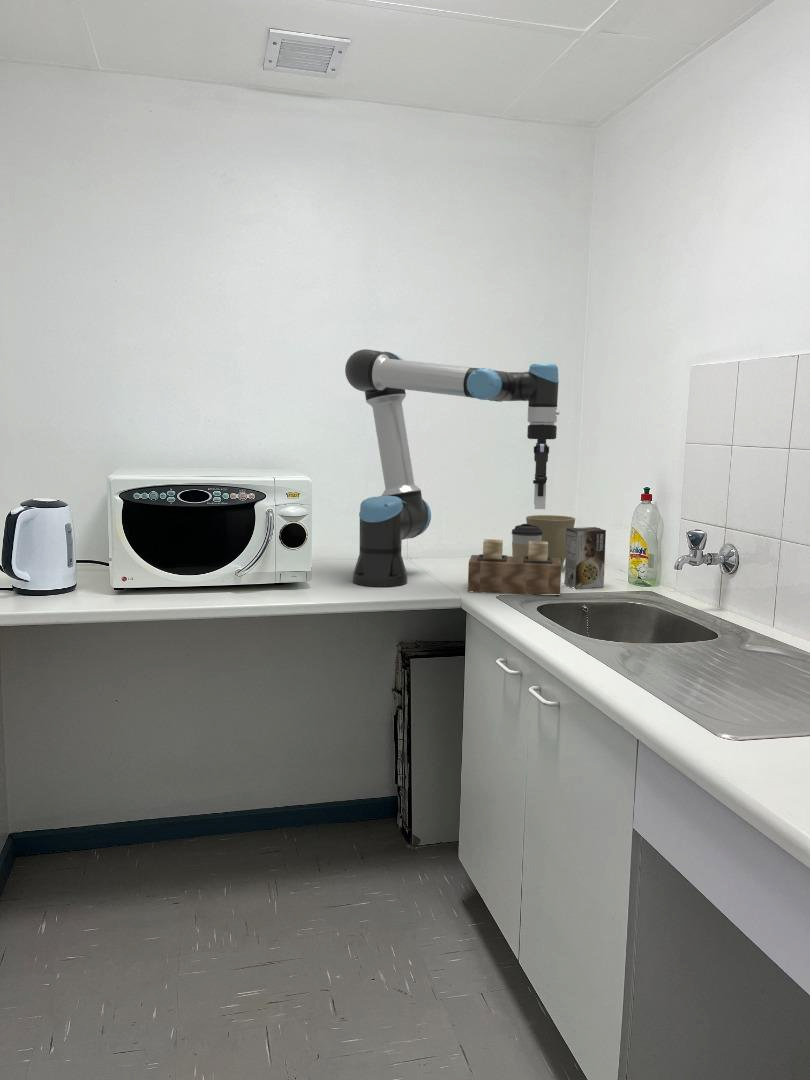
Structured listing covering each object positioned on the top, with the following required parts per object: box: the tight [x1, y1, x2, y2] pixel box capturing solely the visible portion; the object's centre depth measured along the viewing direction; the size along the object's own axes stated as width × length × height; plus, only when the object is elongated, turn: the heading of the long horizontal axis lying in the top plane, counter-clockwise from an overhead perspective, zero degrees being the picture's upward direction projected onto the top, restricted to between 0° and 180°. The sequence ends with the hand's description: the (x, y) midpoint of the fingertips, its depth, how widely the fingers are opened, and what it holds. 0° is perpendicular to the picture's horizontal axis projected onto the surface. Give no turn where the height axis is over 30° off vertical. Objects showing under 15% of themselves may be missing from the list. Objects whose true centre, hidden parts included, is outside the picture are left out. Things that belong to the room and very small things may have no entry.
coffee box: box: [563, 526, 607, 589], centre depth 227 cm, size 9×6×16 cm
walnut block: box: [467, 553, 562, 595], centre depth 222 cm, size 24×12×9 cm, turn 82°
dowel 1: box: [482, 538, 504, 559], centre depth 222 cm, size 5×5×6 cm
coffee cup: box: [511, 523, 543, 557], centre depth 241 cm, size 9×9×15 cm
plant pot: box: [525, 514, 576, 568], centre depth 254 cm, size 15×15×16 cm
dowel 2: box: [528, 541, 548, 561], centre depth 220 cm, size 5×5×6 cm
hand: (539, 506), depth 218 cm, fingers open, 12 cm apart
